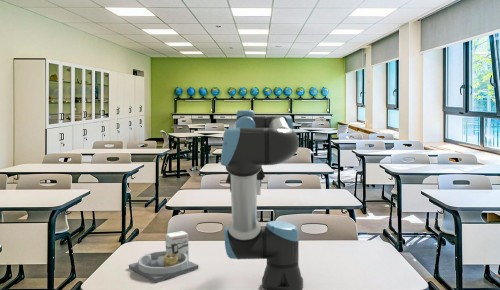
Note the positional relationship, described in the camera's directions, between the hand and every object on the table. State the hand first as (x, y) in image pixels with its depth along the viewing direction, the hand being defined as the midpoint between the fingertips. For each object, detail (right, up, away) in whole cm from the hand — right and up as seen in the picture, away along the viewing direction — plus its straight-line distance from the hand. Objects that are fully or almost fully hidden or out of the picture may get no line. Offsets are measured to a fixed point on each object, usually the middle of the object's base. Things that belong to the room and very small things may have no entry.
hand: (246, 197), depth 196 cm
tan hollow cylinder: (-30, -27, -12) cm, 42 cm away
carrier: (-33, -28, -8) cm, 44 cm away
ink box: (-29, -27, 0) cm, 40 cm away
